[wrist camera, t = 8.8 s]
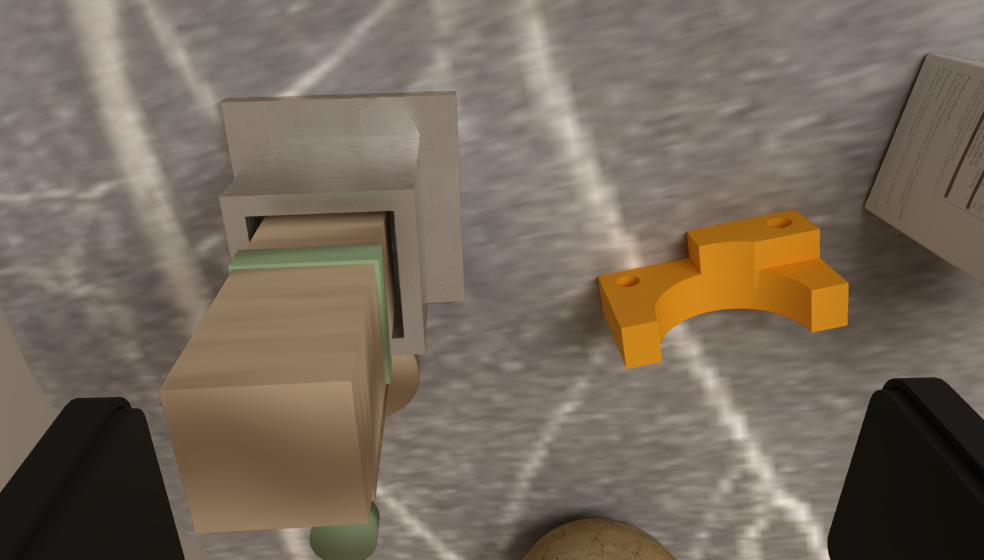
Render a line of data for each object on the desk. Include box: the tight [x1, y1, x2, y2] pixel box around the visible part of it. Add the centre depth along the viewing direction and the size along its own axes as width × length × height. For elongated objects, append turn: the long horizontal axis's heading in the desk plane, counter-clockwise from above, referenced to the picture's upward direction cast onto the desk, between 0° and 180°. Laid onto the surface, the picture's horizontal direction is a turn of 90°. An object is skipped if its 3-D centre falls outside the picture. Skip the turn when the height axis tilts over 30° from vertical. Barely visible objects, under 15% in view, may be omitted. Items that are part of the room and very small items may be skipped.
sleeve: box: [219, 91, 464, 356], centre depth 36 cm, size 12×12×10 cm
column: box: [159, 211, 396, 534], centre depth 28 cm, size 6×6×15 cm
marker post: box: [310, 354, 419, 560], centre depth 39 cm, size 6×6×14 cm
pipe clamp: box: [598, 209, 849, 369], centre depth 41 cm, size 12×4×6 cm, turn 101°
